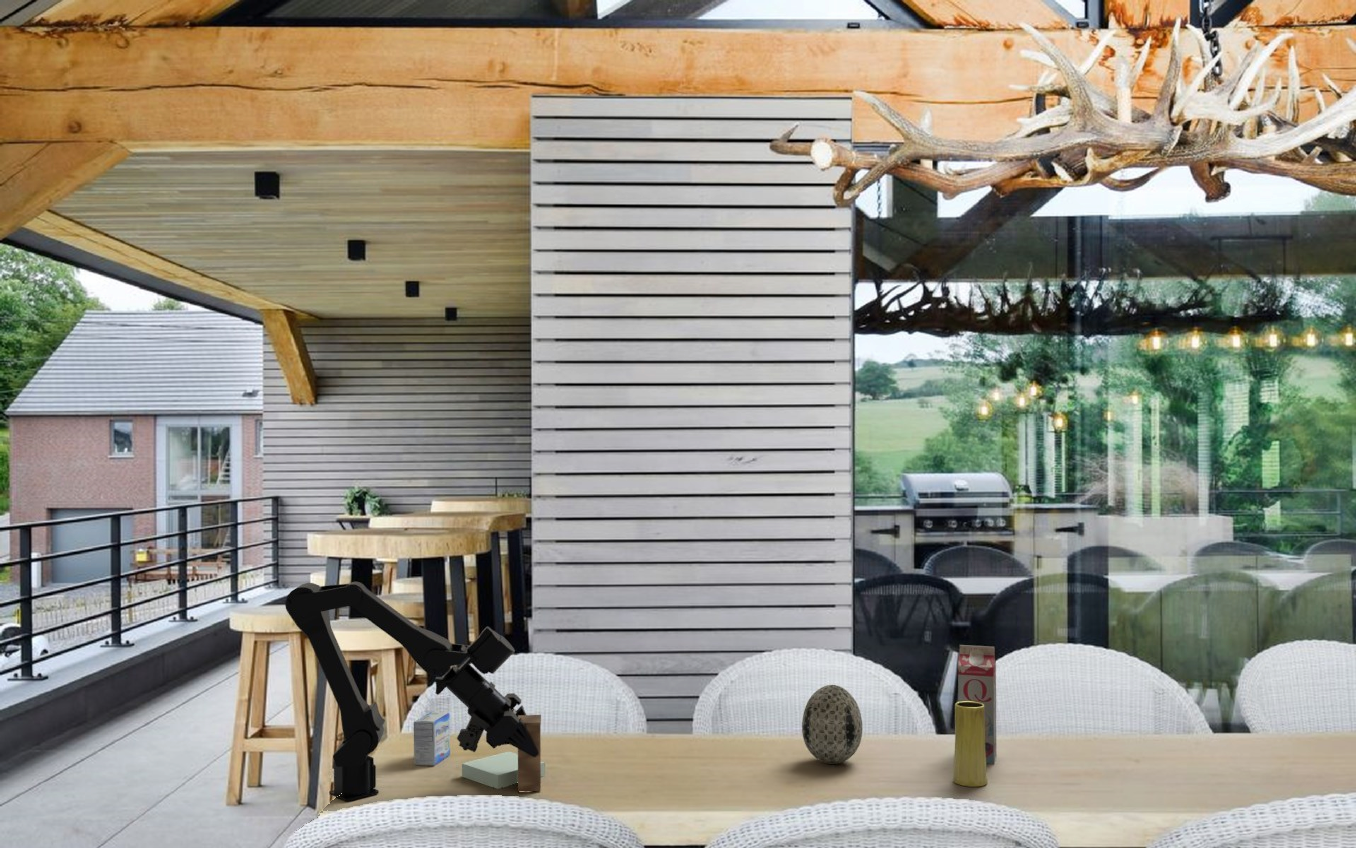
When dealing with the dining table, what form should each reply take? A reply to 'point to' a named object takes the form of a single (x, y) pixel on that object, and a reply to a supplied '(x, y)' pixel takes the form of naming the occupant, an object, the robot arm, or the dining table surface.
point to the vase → (969, 744)
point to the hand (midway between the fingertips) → (537, 751)
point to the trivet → (495, 770)
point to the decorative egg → (832, 725)
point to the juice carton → (980, 688)
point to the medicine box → (432, 738)
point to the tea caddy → (530, 757)
